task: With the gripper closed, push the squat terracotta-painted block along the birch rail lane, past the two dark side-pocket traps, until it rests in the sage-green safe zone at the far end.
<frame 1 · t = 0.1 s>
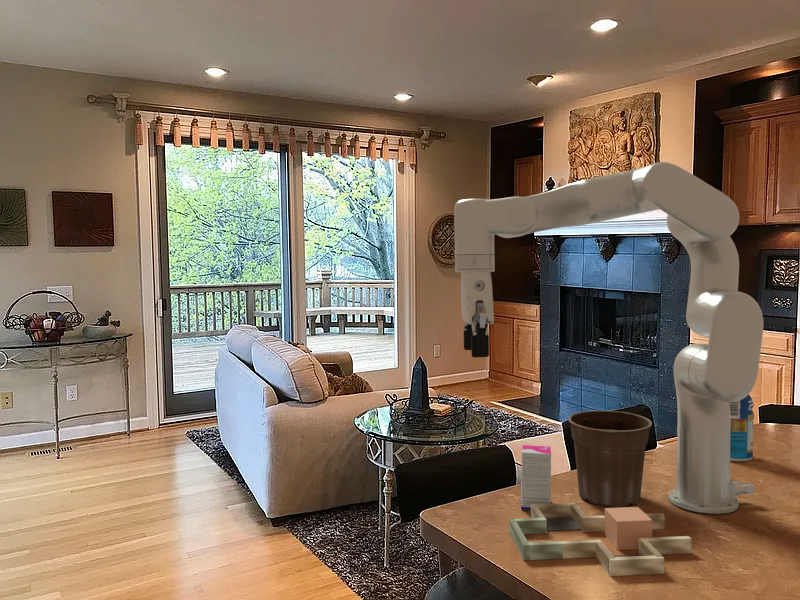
hand: (476, 353, 127), 31 cm above the table, tool pointing down, fingers open, 9 cm apart
plant pot: (609, 498, 136), on the table
terracotta block: (627, 542, 114), resting in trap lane
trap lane: (599, 542, 114), on the table
blue cylindrical canister: (733, 457, 160), on the table
supplement box: (536, 506, 132), on the table
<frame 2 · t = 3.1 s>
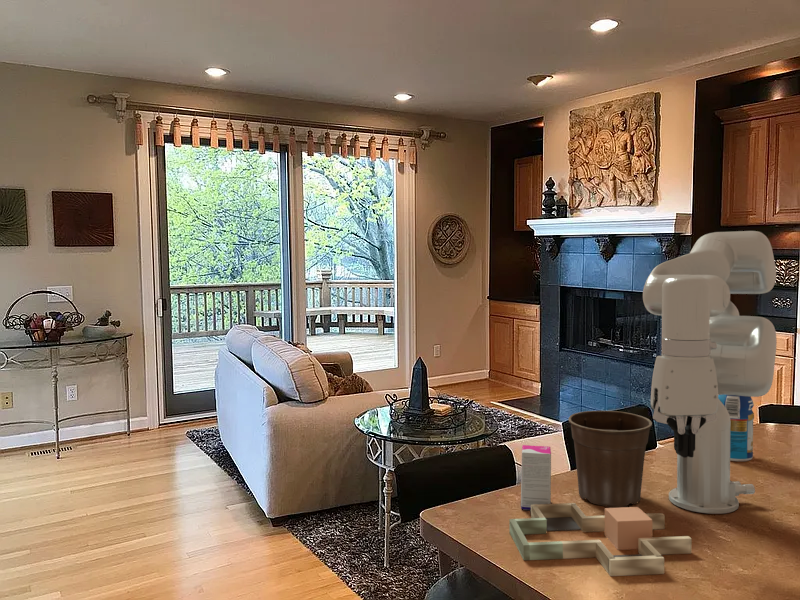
hand: (684, 455, 114), 15 cm above the table, tool pointing down, fingers closed
nothing on the table moved.
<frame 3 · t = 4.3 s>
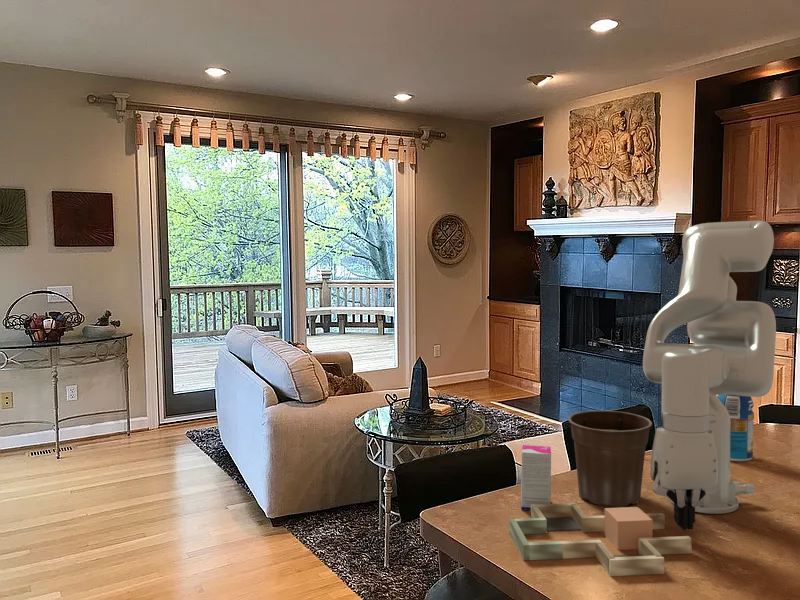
hand: (684, 526, 115), 2 cm above the table, tool pointing down, fingers closed
nothing on the table moved.
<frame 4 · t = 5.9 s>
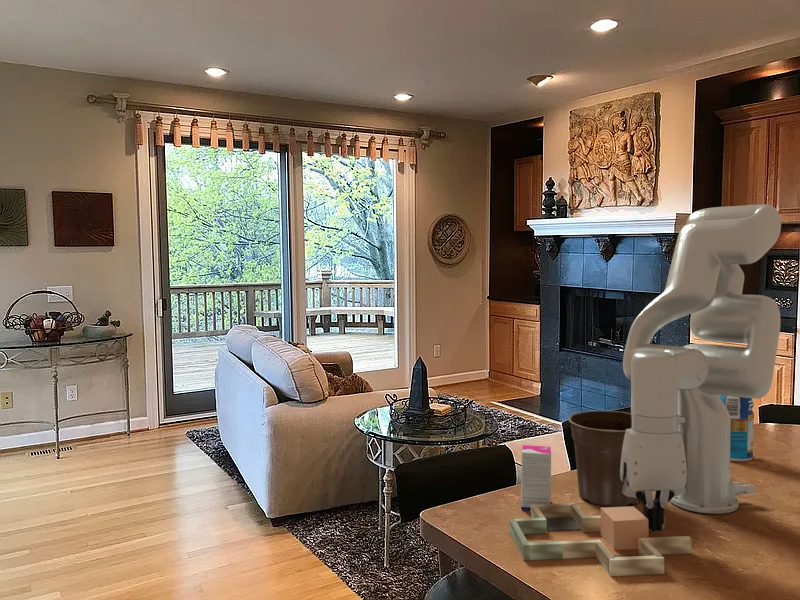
hand: (653, 528, 114), 2 cm above the table, tool pointing down, fingers closed
terracotta block: (623, 541, 114), resting in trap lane, touching gripper
everything else where it was.
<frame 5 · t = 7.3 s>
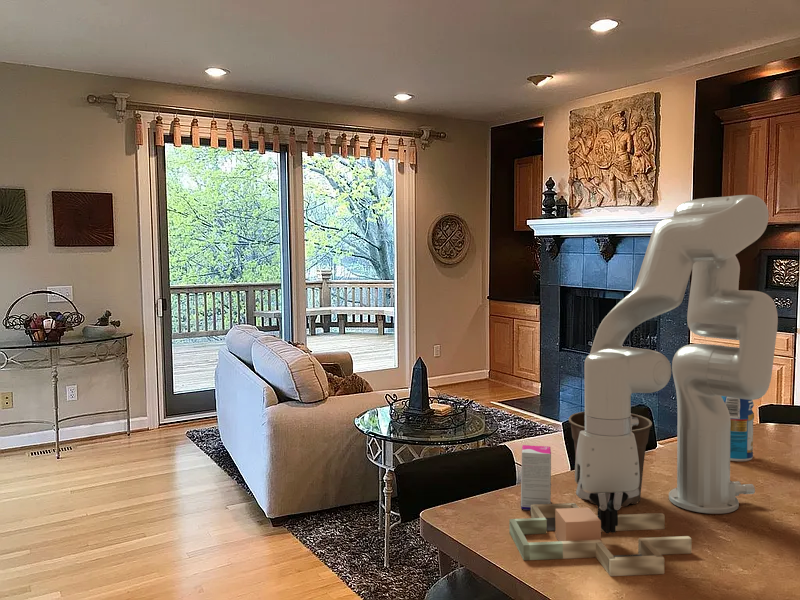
hand: (607, 529, 114), 2 cm above the table, tool pointing down, fingers closed
terracotta block: (577, 542, 114), resting in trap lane, touching gripper
everything else where it was.
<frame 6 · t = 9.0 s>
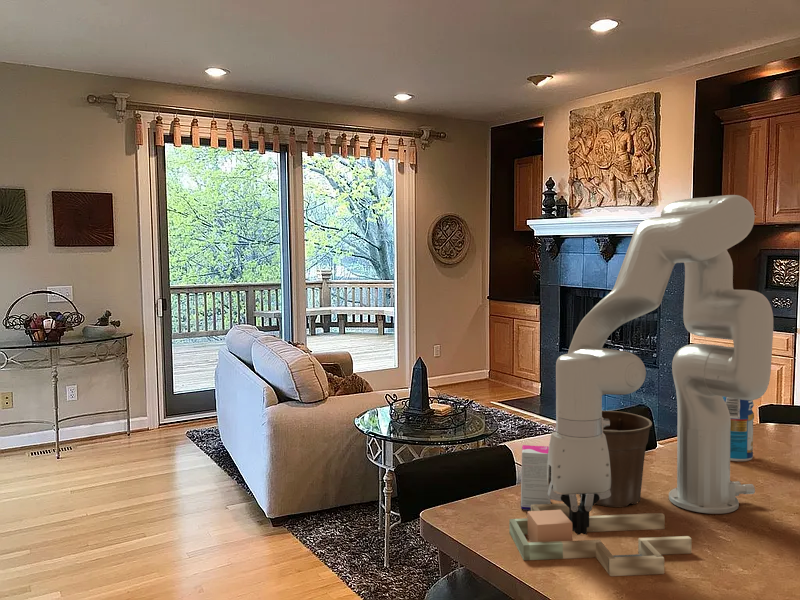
hand: (579, 531, 114), 2 cm above the table, tool pointing down, fingers closed
terracotta block: (549, 545, 114), resting in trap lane
everything else where it was.
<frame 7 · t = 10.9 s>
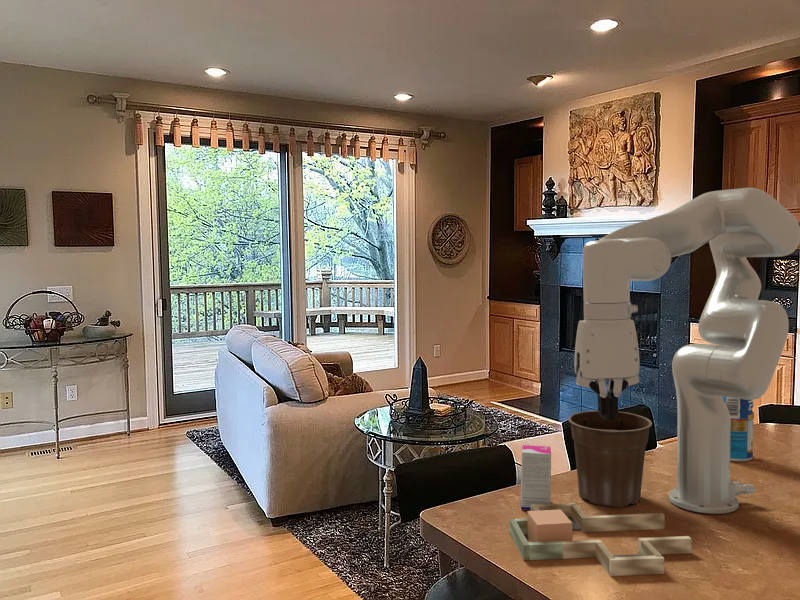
hand: (608, 418, 114), 21 cm above the table, tool pointing down, fingers closed
nothing on the table moved.
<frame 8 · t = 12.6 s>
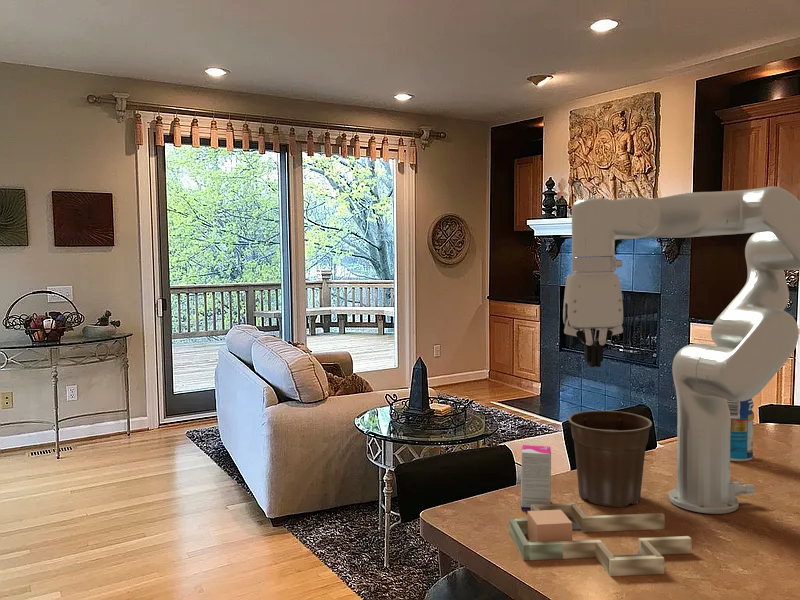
hand: (593, 365, 123), 29 cm above the table, tool pointing down, fingers closed
nothing on the table moved.
at the end: terracotta block inside the target area (1.8 cm from its centre), resting in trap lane; terracotta block tilted 0° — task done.
